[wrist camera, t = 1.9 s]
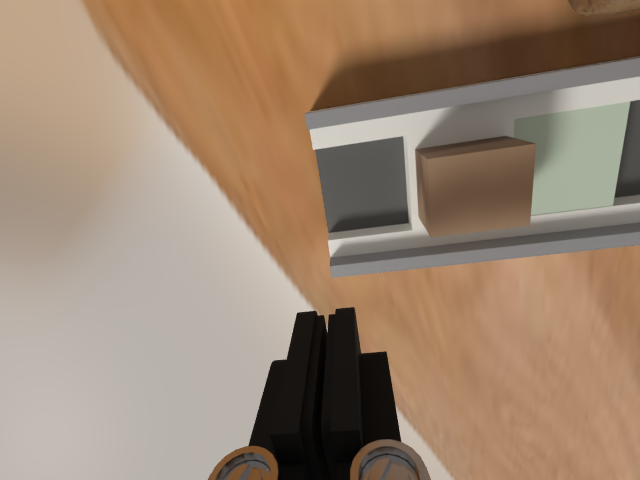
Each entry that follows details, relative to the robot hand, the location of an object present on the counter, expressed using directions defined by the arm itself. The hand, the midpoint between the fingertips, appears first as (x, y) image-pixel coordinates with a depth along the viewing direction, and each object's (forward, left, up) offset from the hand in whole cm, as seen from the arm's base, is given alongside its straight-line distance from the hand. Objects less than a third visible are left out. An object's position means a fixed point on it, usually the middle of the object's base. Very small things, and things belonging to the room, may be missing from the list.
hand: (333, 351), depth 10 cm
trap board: (0, +12, -19) cm, 22 cm away
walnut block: (0, +9, -17) cm, 19 cm away
